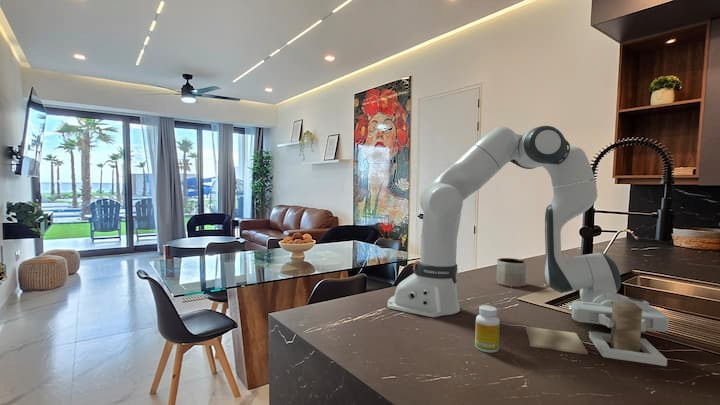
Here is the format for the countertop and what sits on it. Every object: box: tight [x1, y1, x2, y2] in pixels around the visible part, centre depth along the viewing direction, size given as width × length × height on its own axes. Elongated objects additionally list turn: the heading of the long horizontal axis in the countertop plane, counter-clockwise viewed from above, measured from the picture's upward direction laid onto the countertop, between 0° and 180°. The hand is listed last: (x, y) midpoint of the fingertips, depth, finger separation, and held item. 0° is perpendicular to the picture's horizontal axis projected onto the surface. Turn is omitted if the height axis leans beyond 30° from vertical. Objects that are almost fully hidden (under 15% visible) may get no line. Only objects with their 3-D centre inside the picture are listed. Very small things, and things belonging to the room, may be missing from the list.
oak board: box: [525, 326, 589, 355], centre depth 92 cm, size 12×12×1 cm
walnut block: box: [610, 301, 642, 352], centre depth 87 cm, size 4×4×11 cm
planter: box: [495, 257, 527, 288], centre depth 146 cm, size 11×11×10 cm
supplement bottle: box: [474, 304, 501, 354], centre depth 87 cm, size 5×5×10 cm
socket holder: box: [588, 330, 668, 367], centre depth 87 cm, size 12×12×2 cm
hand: (627, 326), depth 86 cm, fingers closed on walnut block, 4 cm apart
